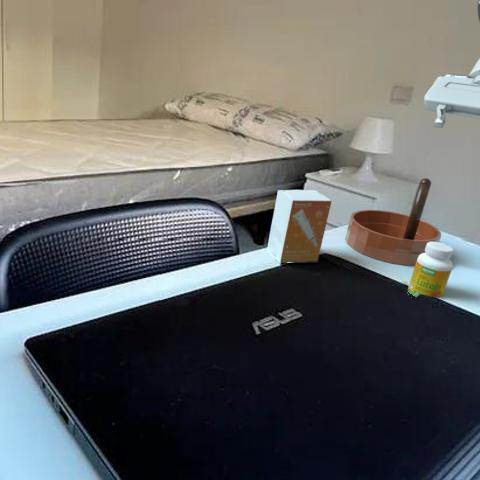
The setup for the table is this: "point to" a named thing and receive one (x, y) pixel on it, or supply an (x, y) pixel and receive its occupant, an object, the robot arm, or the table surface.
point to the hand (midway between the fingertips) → (462, 129)
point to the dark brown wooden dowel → (417, 209)
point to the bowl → (388, 236)
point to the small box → (298, 225)
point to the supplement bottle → (431, 270)
